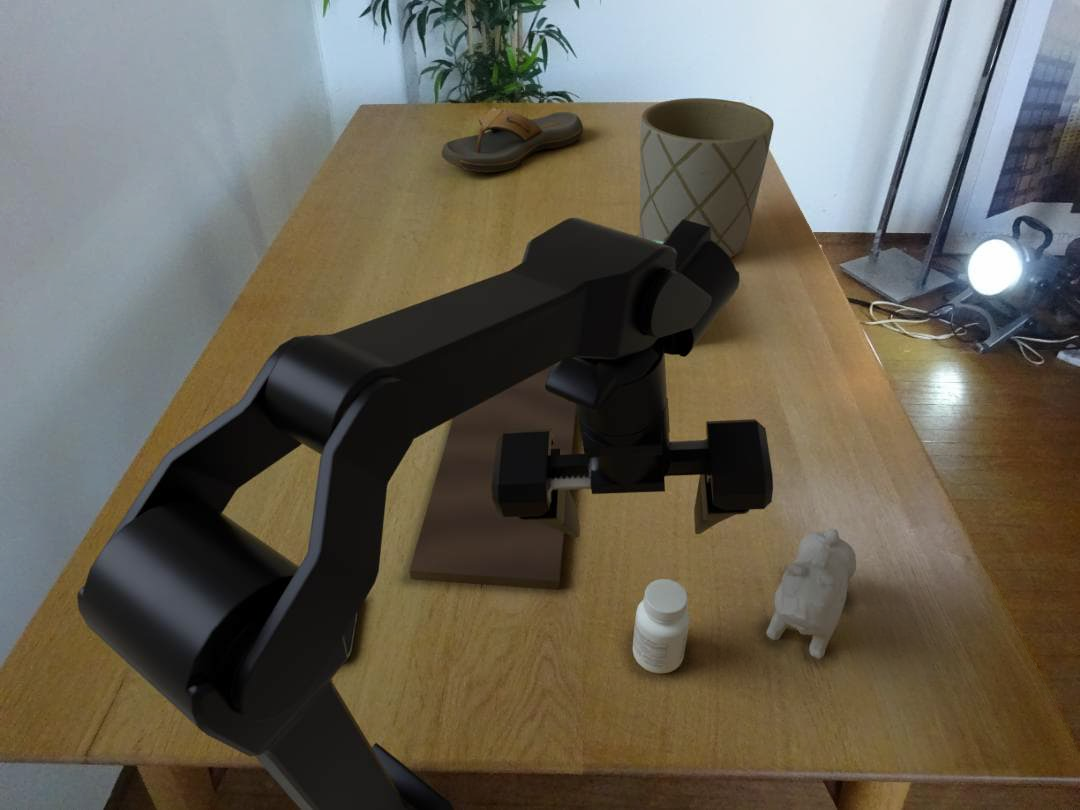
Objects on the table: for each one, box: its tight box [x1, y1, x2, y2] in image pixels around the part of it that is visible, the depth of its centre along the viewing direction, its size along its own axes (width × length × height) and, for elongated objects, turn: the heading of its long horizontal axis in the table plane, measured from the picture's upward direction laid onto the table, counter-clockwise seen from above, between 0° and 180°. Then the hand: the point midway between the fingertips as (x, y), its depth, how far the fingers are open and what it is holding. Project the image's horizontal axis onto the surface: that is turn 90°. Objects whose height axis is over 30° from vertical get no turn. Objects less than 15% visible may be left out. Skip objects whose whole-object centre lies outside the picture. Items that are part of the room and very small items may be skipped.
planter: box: [639, 97, 775, 258], centre depth 124 cm, size 19×19×20 cm
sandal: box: [441, 106, 584, 173], centre depth 158 cm, size 14×34×9 cm, turn 129°
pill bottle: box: [632, 578, 691, 674], centre depth 67 cm, size 4×4×8 cm
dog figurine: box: [766, 528, 857, 659], centre depth 68 cm, size 5×13×11 cm, turn 150°
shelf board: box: [408, 363, 577, 590], centre depth 91 cm, size 40×14×1 cm, turn 175°
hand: (636, 530), depth 62 cm, fingers open, 9 cm apart
